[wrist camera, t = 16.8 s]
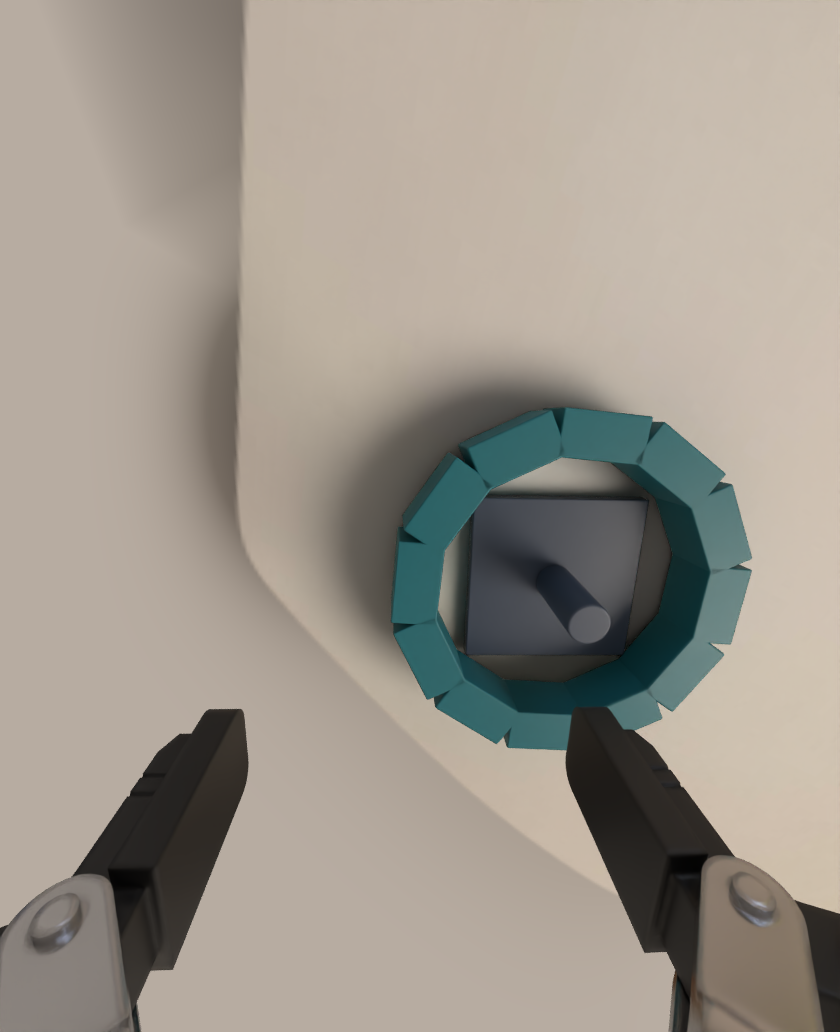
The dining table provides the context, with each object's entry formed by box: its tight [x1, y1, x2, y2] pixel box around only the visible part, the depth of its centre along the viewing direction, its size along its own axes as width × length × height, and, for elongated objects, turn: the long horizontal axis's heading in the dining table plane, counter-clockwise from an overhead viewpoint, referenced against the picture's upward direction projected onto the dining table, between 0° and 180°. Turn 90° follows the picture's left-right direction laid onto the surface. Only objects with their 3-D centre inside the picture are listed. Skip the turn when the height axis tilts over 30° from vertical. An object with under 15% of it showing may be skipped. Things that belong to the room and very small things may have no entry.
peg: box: [464, 495, 649, 655], centre depth 18 cm, size 8×8×4 cm
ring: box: [391, 407, 752, 750], centre depth 18 cm, size 14×14×2 cm
